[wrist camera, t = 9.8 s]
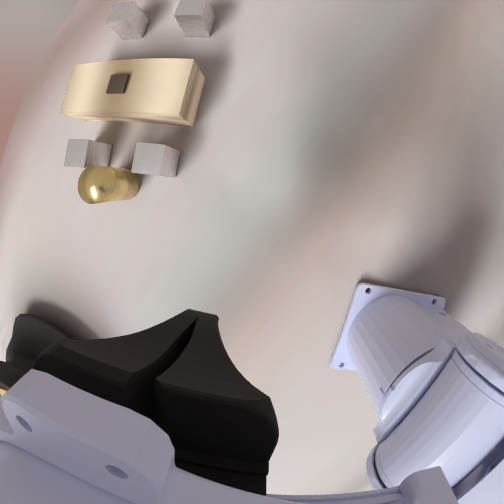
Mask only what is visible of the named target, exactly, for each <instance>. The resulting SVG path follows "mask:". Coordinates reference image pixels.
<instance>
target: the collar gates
mask: <svg viewBox="0 0 504 504" xmlns="http://www.w3.org/2000/svg"><path fill="white" fill-rule="evenodd" d="M174 16H175V18H176V20H177V21H178V23H179V25H180V27H181V29H182V30H183V32H184V34H185V36H198V37H210V33H211V30H212V27H213V24H214V21H215V17H214V14H213V10H212V7H211V4H210V1H209V0H180V2H179V5H178V7H177V10H176V12H175V14H174ZM148 22H149V19H148V18H147V17H146V15H145V14H144V13H143V11H142V10H141V9H140V7H139V6H138V5H137V4H136V2H135V1H133V2H127V3H121V4H115V5H114V6H113V8H112V10H111V12H110V14H109V16H108V18H107V20H106V22H105V23H106V24H107V25H108V26H109V27H110V28H111V29H112V30H114V31H115V32H116V33H117V34H118V35H119V36H120V37H121V38H122V39H133V38H143V35H144V32H145V30H146V27H147V25H148ZM111 148H112V145H110V144H106V143H102V142H97V141H93V140H87V139H69V140H68V146H67V151H66V157H65V163H64V166H71V167H83V168H87V167H89V166H104V167H108V165H109V159H110V154H111ZM179 155H180V151H178V150H176V149H174V148H171V147H169V146H167V145H163V144H153V143H141V142H137V143H136V148H135V153H134V159H133V164H132V170H131V173H140V174H148V175H155V176H164V177H174V178H175V177H176V171H177V166H178V161H179Z"/></svg>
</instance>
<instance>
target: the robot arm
mask: <svg viewBox="0 0 504 504" xmlns="http://www.w3.org/2000/svg"><path fill="white" fill-rule="evenodd" d="M367 288H370V290H369V291H368V292H365V290H366V289H367ZM433 300H434V302H433V303H432V301H433ZM445 303H446V300H445V298H443V297H441V296H435V295H429V294H424V293H418V292H413V291H407V290H402V289H396V288H391V287H385V286H380V285H374V284H369V283H363V282H362V283H359V284H358V285H357V286H356V289H355V292H354V295H353V299H352V302H351V305H350V308H349V311H348V314H347V317H346V320H345V323H344V326H343V329H342V332H341V335H340V337H339V340H338V343H337V346H336V348H335V351H334V354H333V356H332V359H331V362H330V365H331V367H332V368H333V369H341V370H354V371H357V372H358V375H359V377H360V379H361V381H362V383H363V385H364V388H365V390H366V392H367V394H368V396H369V399H370V401H371V403H372V405H373V407H374V410H375V412H376V414H377V416H378V419H379V421H378V424H377V426H376V427H375V429H374V430H373V432H374V434H375V437H376V440H377V442H378V444H377V445H376V446H375V447H374V448H373V449H372V450H371V452H370V453H369V455H368V457H367V462H366V470H367V476H368V479H369V482H370V484H371V486H372V488H373V490H371V491H364V492H355V493H345V494H331V495H275V494H266V475H268V471H269V460H270V458H271V456H272V453H273V451H274V449H275V447H276V445H277V442H278V437H279V429H278V423H277V418H276V415H275V411H274V408H273V405H272V402H271V399H270V397H269V396H267V395H266V394H264V393H263V392H261V391H260V390H258V389H257V388H256V387H254V386H253V385H252V384H251V383H250V382H249V381H247V380H246V379H245V378H244V377H243V376H242V374H241V373H240V372H239V371H238V370H237V369H236V367H235V366H234V364H233V363H232V361H231V359H230V358H229V356H228V354H227V352H226V350H225V348H224V345H223V343H222V340H221V336H220V333H219V328H218V320H219V318H218V316H217V315H214V314H209V313H204V312H200V311H195V310H191V309H188V310H186V311H184V312H182V313H180V314H178V315H176V316H174V317H173V318H171V319H169V320H167V321H165V322H163V323H160V324H158V325H156V326H153V327H151V328H149V329H146V330H143V331H140V332H137V333H133V334H130V335H125V336H120V337H114V338H107V339H94V340H78V339H63V338H58V339H57V340H56V341H54V342H53V343H52V344H51V345H50V346H48V347H47V348H46V349H45V350H44V351H43V352H41V353H40V354H39V355H38V356H37V357H36V358H35V360H34V362H33V369H31V370H30V371H29V372H28V373H26V374H25V375H24V376H23V377H22V378H21V379H20V380H19V381H18V382H17V383H16V384H14V385H13V386H12V387H11V388H10V389H9V390H8V391H7V392H6V393H5V394H4V395H3V396H0V504H504V348H503V347H501V346H500V345H498V344H497V343H495V342H493V341H492V340H490V339H488V338H487V337H485V336H483V335H481V334H478V333H472V332H471V331H469V330H468V329H467V328H466V327H465V326H463V325H462V324H461V323H460V322H458V321H457V320H456V319H454V318H453V317H452V316H451V315H449V314H448V313H447V312H445V311H444V310H443V309H444V306H445ZM340 363H343V364H342V365H339V364H340Z"/></svg>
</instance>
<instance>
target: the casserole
mask: <svg viewBox="0 0 504 504" xmlns="http://www.w3.org/2000/svg"><path fill="white" fill-rule="evenodd" d="M58 338H63V339H70V338H69V337H68V336H67V335H66V334H65V333H63V332H62V331H60V330H59V329H58V328H56V327H55V326H54V325H52V324H51V323H49V322H47V321H45V320H43V319H41V318H39V317H37V316H34V315H30V314H20V315H19V316H18V317H16V319H15V323H14V327H13V334H12V338H11V340H10V343H9V345H8V347H7V350H6V362H3V361H0V396H3V395H4V394H5V393H6V392H7V391H8V390H9V389H10V388H11V387H12V386H13V385H14V384H16V383H17V382H18V381H19V380H20V379H21V378H22V377H23V376H24V375H25V374H26V373H28V372H29V371H30V370H31V369H33V362H34V360H35V358H36V357H37V356H38V355H39V354H40V353H41V352H43V351H44V350H45V349H46V348H47V347H48V346H50V345H51V344H52V343H53V342H54V341H56V340H57V339H58Z"/></svg>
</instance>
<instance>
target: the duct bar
mask: <svg viewBox="0 0 504 504" xmlns="http://www.w3.org/2000/svg"><path fill="white" fill-rule="evenodd" d="M204 82H205V77H204V76H203V74H202V72H201V70H200V69H199V67H198V65H197V63H196V61H195V60H194V59H180V58H146V59H125V60H112V61H102V62H93V63H86V64H79V65H74V67H73V70H72V73H71V76H70V79H69V83H68V86H67V89H66V93H65V96H64V100H63V103H62V107H61V111H60V113H62V114H66V115H69V116H72V117H76V118H79V119H82V120H85V121H129V122H147V123H161V124H172V125H182V126H191V127H193V126H194V122H195V118H196V114H197V109H198V105H199V101H200V97H201V93H202V89H203V86H204Z"/></svg>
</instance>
